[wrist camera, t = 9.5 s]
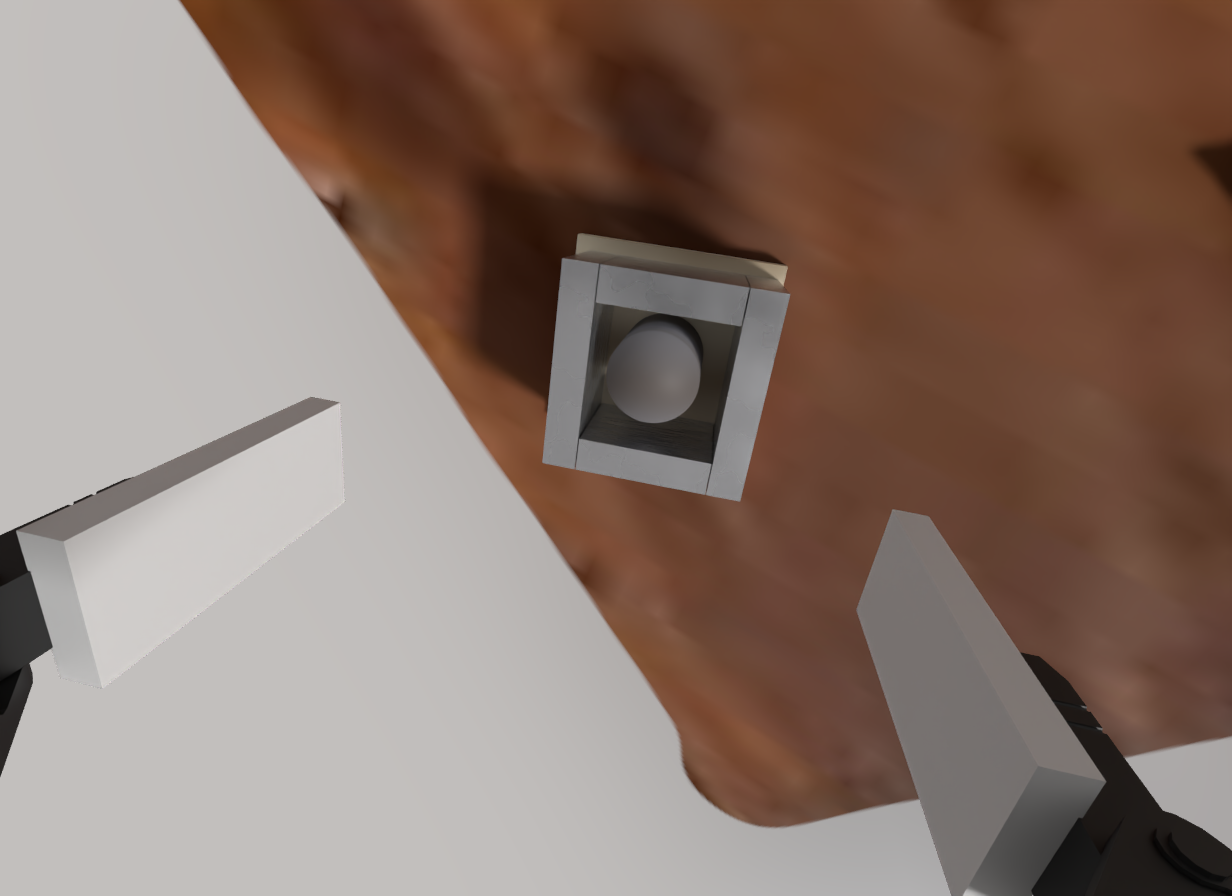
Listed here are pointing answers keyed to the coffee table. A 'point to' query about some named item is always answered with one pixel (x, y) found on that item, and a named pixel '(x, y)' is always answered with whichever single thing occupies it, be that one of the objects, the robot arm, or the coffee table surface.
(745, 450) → the grey hollow square block
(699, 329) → the cream square tile
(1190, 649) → the coffee table surface
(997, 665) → the robot arm
